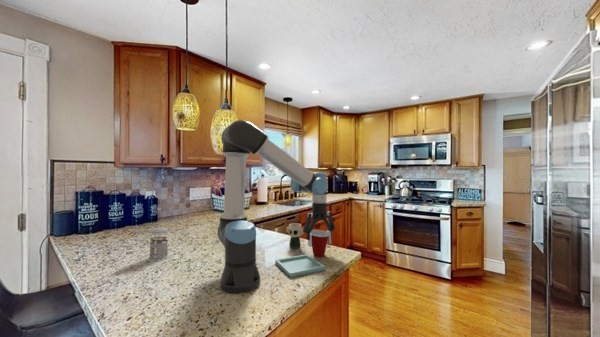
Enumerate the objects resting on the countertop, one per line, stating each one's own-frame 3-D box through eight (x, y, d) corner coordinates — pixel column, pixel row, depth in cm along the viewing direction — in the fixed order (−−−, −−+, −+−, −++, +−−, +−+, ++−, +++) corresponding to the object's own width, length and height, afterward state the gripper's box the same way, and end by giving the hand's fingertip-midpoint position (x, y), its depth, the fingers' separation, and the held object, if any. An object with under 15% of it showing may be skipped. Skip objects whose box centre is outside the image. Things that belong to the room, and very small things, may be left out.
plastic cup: (325, 260, 119) (325, 235, 119) (305, 256, 124) (305, 233, 124) (332, 253, 129) (332, 230, 129) (313, 250, 133) (313, 228, 133)
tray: (290, 277, 100) (290, 273, 100) (275, 263, 115) (275, 259, 115) (325, 270, 107) (325, 266, 107) (307, 257, 122) (307, 254, 122)
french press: (152, 263, 115) (152, 210, 115) (142, 257, 122) (142, 207, 122) (173, 257, 123) (173, 207, 123) (163, 252, 130) (163, 205, 130)
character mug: (283, 247, 138) (283, 225, 138) (289, 244, 144) (289, 222, 144) (301, 250, 133) (301, 226, 133) (306, 246, 140) (306, 224, 140)
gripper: (302, 204, 118) (302, 249, 118) (342, 201, 128) (342, 243, 128) (296, 202, 125) (296, 245, 124) (333, 200, 135) (333, 239, 135)
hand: (319, 244), depth 126 cm, fingers closed on plastic cup, 11 cm apart
